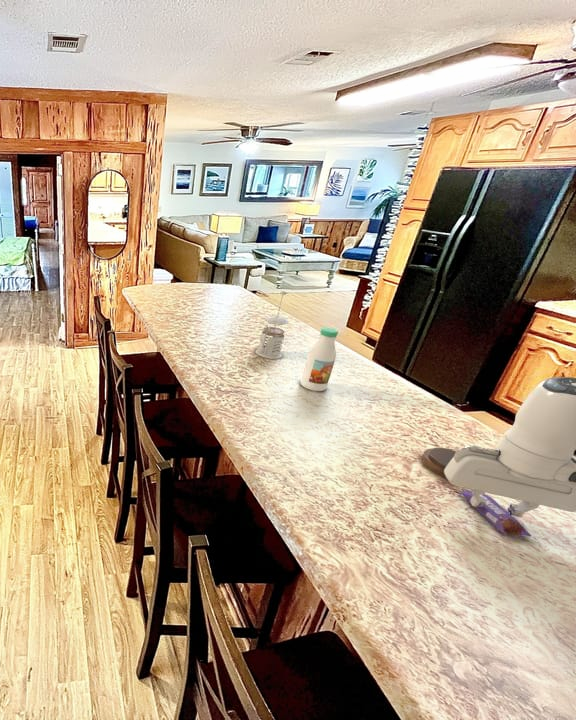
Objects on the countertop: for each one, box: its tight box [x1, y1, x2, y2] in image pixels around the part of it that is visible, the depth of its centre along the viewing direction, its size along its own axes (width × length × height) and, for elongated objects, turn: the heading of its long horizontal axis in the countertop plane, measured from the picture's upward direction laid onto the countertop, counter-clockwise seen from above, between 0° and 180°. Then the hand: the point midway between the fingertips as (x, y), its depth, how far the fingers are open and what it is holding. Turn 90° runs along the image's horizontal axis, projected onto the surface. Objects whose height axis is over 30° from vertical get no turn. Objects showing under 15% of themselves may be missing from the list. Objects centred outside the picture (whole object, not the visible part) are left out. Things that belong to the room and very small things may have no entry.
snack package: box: [459, 490, 532, 537], centre depth 80 cm, size 12×2×5 cm
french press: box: [255, 290, 289, 360], centre depth 145 cm, size 10×12×25 cm
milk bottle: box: [300, 327, 339, 392], centre depth 124 cm, size 8×8×20 cm
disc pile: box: [422, 447, 457, 479], centre depth 92 cm, size 10×10×3 cm
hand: (494, 509), depth 79 cm, fingers closed on snack package, 5 cm apart
